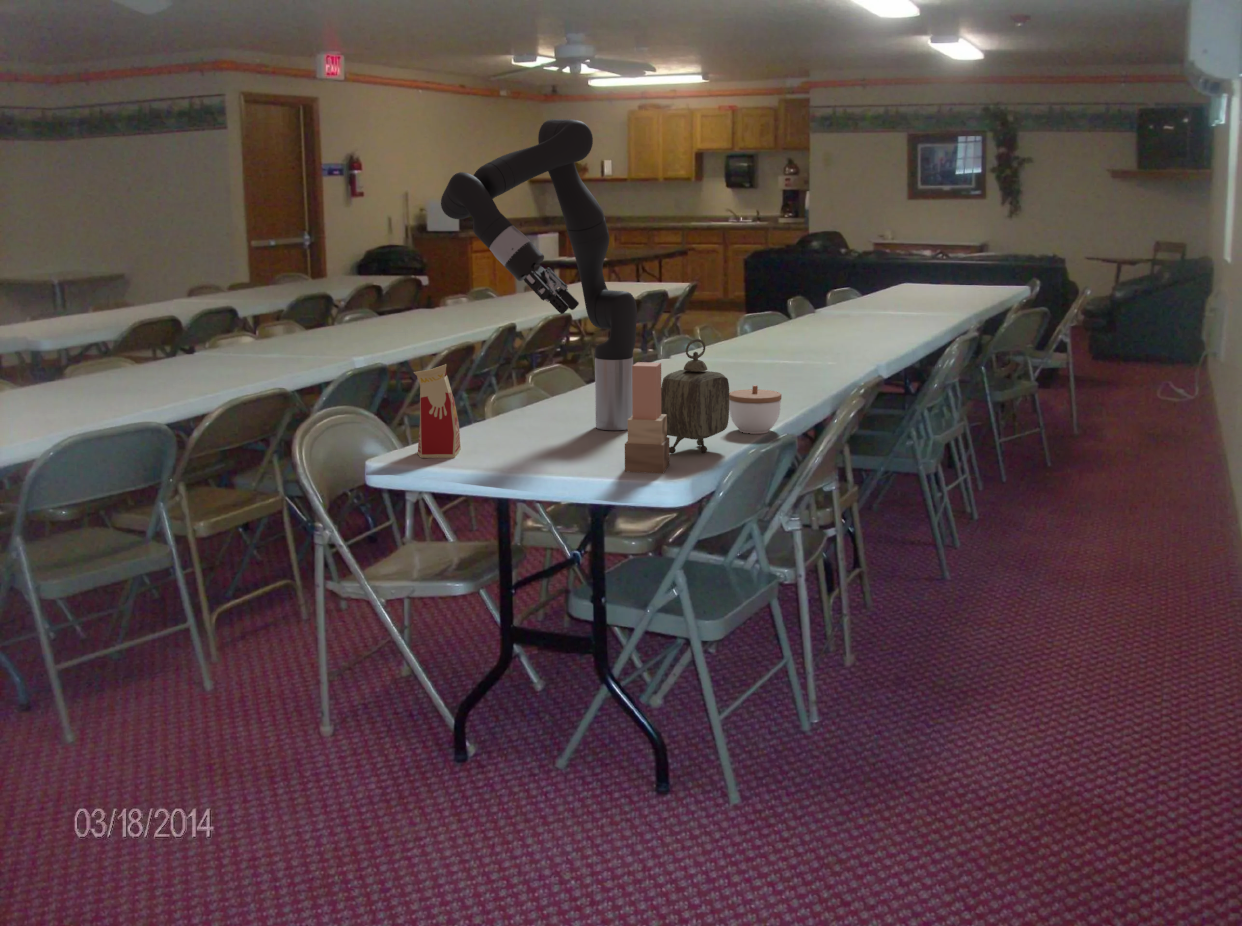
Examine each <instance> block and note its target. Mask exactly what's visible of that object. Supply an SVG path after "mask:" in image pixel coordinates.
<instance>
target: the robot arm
mask: <svg viewBox="0 0 1242 926" xmlns="http://www.w3.org/2000/svg"><path fill="white" fill-rule="evenodd" d="M537 137H538V138H537V141H538V142H537V143H538V144H536V145H533V146H530V147H526V148H523V149H519V150H516V151H513V152H509V153H506V154H503V155H500V156H499V157H497V158H495V159H493V160H491V161H489V162H487V163H485V164H483V165H481V166H480V167H478V168H477V170H476V171H475V172H474V173H473V174H471V173H470V172H469V173H468V172H464V171H462V172H461V171H460V172H457V173H455V174H453V175H452V177H450V179H449V181H448V183H447V185H446V188H445V189H444V191H443V194H442V195H441V197H440V198H441V199H440V206H441V210H442V212H443V213H444V214H445V216H447V217H449V218H451V219H454V220H464V219H467V218H469V217H471V218H472V221H473V225H472V231H473V233H474V234H475V236H476V237H477V238H478V240H480V242H481V243H483V245H485V247H487V249H489V250H490V252H491V254H493V256H494V257H495V258H496V260H497V261H499V262H500V263H501V265H502V266H503V267H504V268H505V269H506V270H507V271H508V272H509V273H510V274H511V275H512V276H513V277H514V279H516V280H517V281H519V282H522V281H524V283H526V284H527V285H528V287H529V288H531V290H532V291H533V292H534V293H535V295H537V296H538V298H539V299H540V300H541V301H545V302H547V303H549V304H551V305H552V306H553V308H554V309H555V310H556V311H557V312H558V313H559V314H560V315H563V314H565V313H566V312H567V311H568V310H569V309H570V310H571V311H574V310H575V309H576V308H577V307H578V306H579V304H580V303H579V301H578V300H577V299H576V298H575V297H574V296H573V295H572V293H570V291H568V284H567V283H565V282H564V281H563V280H562V279H561V278H560V276H558V275H557V274H556V273H555V272H554V271H553V270H552V269H551V267H547V268H546V269H545V268H544V267H543V266H542V265H541V264H542V262H544V259H545V255H544V254H543V253H542V251H541V250H539V249H538V248H537V246H536V245H534V243H533V242H531V240H530V239H529V238H528V237H527V236H526V235H525V234H524V233H523V232H522V231H520V230H519V229H518V228H516V227H515V225H514V224H513V223H511V221H509V220H508V219H507V218H506V216H505V215H504V214H503V213H502V212H501V211H500V210H499V209H498V207H497V204H496V202H495V201H494V199H495V198H497V197H499V196H502V195H503V194H505V193H506V192H508V191H510V190H512V189H513V188H516V187H518V186H519V185H521V184H523V183H525V182H527V181H529V180H531V179H534V178H535V177H538V176H541V175H543V174H544V173H547V172H548V174H549V176H550V179H551V182H552V185H553V188H554V191H555V193H556V197H557V200H558V203H559V206H560V210H561V213H562V215H563V220H564V224H565V229H566V231H567V235H568V239H569V242H570V245H571V248H572V251H573V255H574V257H575V258H574V259H575V263H576V266H577V269H578V274H579V278H580V283H581V289H582V292H583V293H582V295H583V299H584V306H585V310H586V313H587V317H588V319H589V321H590V323H591V324H592V325H593V326H594V327H596V328H599V329H606V330H610V335H609V338H608V339H607V341H604V342H602V343H599V344H597V345H596V346H595V349H594V371H595V372H594V375H595V377H594V380H595V383H594V385H595V387H594V388H595V392H594V394H595V395H594V396H595V428H597V429H598V430H603V431H625V430H628V419H629V418H630V417H631V416H632V366H633V365H634V349H635V345H636V339H637V333H636V332H637V320H638V311H637V309H638V307H637V302H636V299H635V297H634V296H633V294H632V293H630V292H629V291H624V290H611V289H610V290H609V289H608V287H607V285H606V280H605V277H604V272H603V270H604V269H603V267H604V261H605V260H606V255H607V251H608V249H609V245H610V233H609V228H608V224H607V222H606V217H605V213H604V211H603V208H602V207H601V204H599V202H598V200H597V199H596V197H595V196H594V195H593V194H592V193H591V191H590V190H589V189H588V187H587V185H586V184H585V183H584V182H583V180H582V178H581V176H580V175H579V172H578V169H577V167H576V163H578V162H580V161H583V160H585V158H587V157H588V156H589V154H590V152H591V151H592V148H593V143H594V138H593V133H592V131H591V129H590V127H589V126H588V125H587V124H586V123H585V122H583V121H581V120H577V119H571V118H569V119H564V118H563V119H560V118H558V119H557V118H556V119H547V120H546V121H545V122H543V123H542V125H541V126H540V128H539V130H538V136H537Z"/></svg>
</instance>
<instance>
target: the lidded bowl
mask: <svg viewBox="0 0 1242 926" xmlns="http://www.w3.org/2000/svg"><path fill="white" fill-rule="evenodd" d="M758 388H759V387H758V385H757V384H756V385H755V384H754V385H752V389H738V390H733V391H729V417H730V418H731V421H732V424H733V425H734V426H735V427H736V428H737V429H738V430H739V433H742V432H743V433H742V434H748V433H750V435H758V434H768V433H769V432H770V430H771V429H772V428H773V427H774V426H775V425H776V423H777V422H778V420H779V417H780V413H781V406H782V405H781V403H782V393H781V392H779V391H775V390H772V389H771V390H769V389H758Z"/></svg>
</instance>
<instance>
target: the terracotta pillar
mask: <svg viewBox="0 0 1242 926" xmlns="http://www.w3.org/2000/svg"><path fill="white" fill-rule="evenodd" d="M661 387H662V362H646V361H644V362H643V361H642V362H640V361H638V362H635V363H633V366H632V415H633V419H651V420H656V419H658V418H659V417H660V416H661Z"/></svg>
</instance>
